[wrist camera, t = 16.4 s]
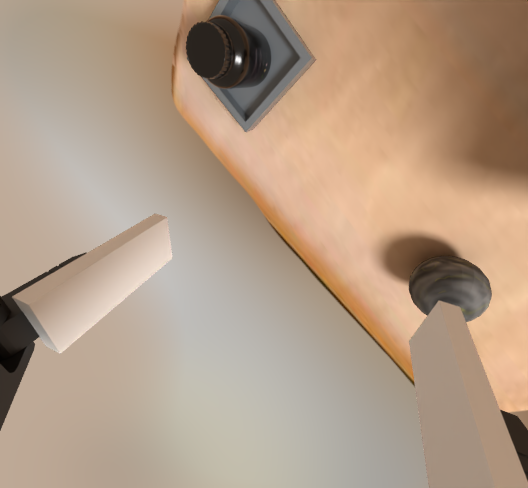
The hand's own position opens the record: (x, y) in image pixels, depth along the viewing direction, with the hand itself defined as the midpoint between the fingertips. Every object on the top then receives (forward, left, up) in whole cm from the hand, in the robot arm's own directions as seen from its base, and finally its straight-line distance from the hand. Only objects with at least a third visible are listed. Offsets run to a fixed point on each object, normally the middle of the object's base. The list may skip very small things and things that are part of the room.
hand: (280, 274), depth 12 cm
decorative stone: (-1, +26, -32) cm, 41 cm away
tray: (+3, -18, -32) cm, 37 cm away
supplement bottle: (+3, -18, -31) cm, 36 cm away
